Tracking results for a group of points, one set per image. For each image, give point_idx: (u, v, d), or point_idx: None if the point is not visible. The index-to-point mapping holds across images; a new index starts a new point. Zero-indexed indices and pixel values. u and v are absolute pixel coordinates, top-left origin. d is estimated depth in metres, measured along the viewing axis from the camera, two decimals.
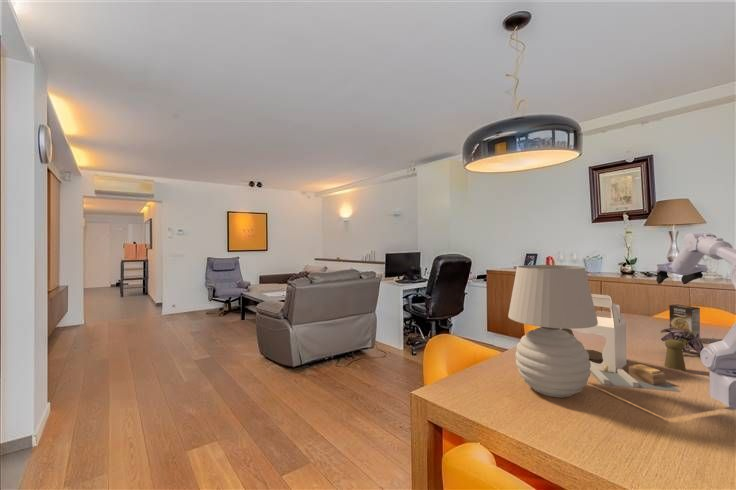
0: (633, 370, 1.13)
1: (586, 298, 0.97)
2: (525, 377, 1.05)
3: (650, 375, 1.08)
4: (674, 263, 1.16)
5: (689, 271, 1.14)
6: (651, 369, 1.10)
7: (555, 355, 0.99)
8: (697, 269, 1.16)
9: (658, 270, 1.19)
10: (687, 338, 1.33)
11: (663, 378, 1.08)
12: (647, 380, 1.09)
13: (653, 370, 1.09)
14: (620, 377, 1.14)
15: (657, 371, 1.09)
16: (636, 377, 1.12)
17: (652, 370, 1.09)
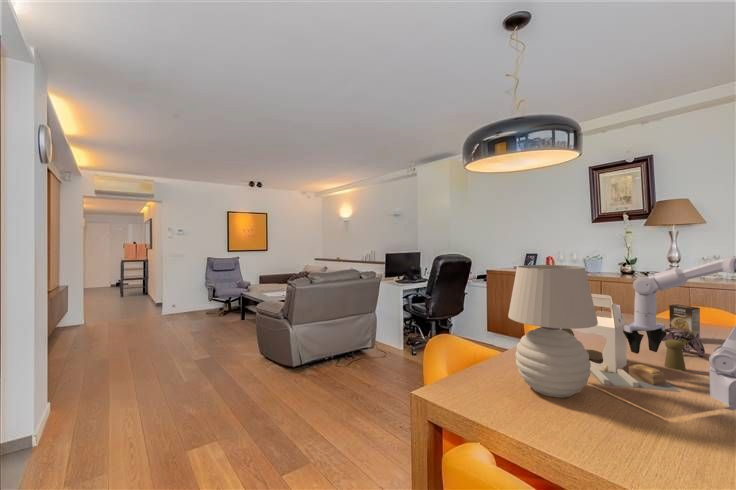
0: (633, 370, 1.13)
1: (586, 298, 0.97)
2: (525, 377, 1.05)
3: (650, 375, 1.08)
4: (638, 319, 1.12)
5: (655, 324, 1.10)
6: (651, 369, 1.10)
7: (555, 355, 0.99)
8: (657, 326, 1.12)
9: (631, 329, 1.10)
10: (687, 338, 1.33)
11: (663, 378, 1.08)
12: (647, 380, 1.09)
13: (653, 370, 1.09)
14: (620, 377, 1.14)
15: (657, 371, 1.09)
16: (636, 377, 1.12)
17: (652, 370, 1.09)
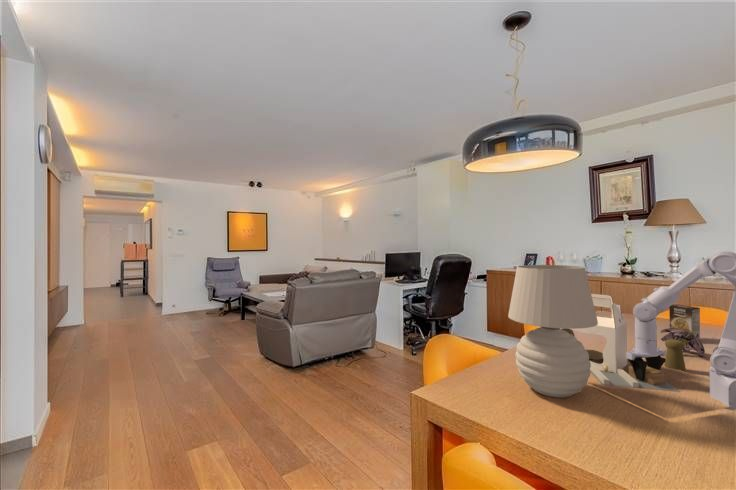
0: (633, 370, 1.13)
1: (586, 298, 0.97)
2: (525, 377, 1.05)
3: (650, 375, 1.08)
4: (639, 346, 1.11)
5: (656, 350, 1.09)
6: (651, 369, 1.10)
7: (555, 355, 0.99)
8: (658, 351, 1.12)
9: (632, 356, 1.09)
10: (687, 338, 1.33)
11: (663, 378, 1.08)
12: (647, 380, 1.09)
13: (653, 370, 1.09)
14: (620, 377, 1.14)
15: (657, 371, 1.09)
16: None
17: (652, 370, 1.09)
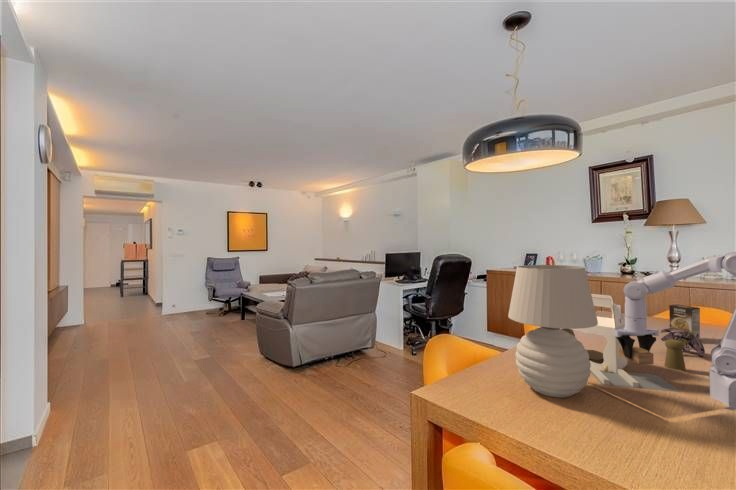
0: None
1: (586, 298, 0.97)
2: (525, 377, 1.05)
3: (636, 354, 1.09)
4: (627, 324, 1.12)
5: (645, 329, 1.09)
6: (639, 349, 1.10)
7: (555, 355, 0.99)
8: (649, 331, 1.11)
9: (618, 333, 1.10)
10: (687, 338, 1.33)
11: (650, 358, 1.08)
12: (634, 360, 1.10)
13: (641, 350, 1.10)
14: (620, 377, 1.14)
15: (645, 351, 1.09)
16: (625, 357, 1.13)
17: (640, 350, 1.10)
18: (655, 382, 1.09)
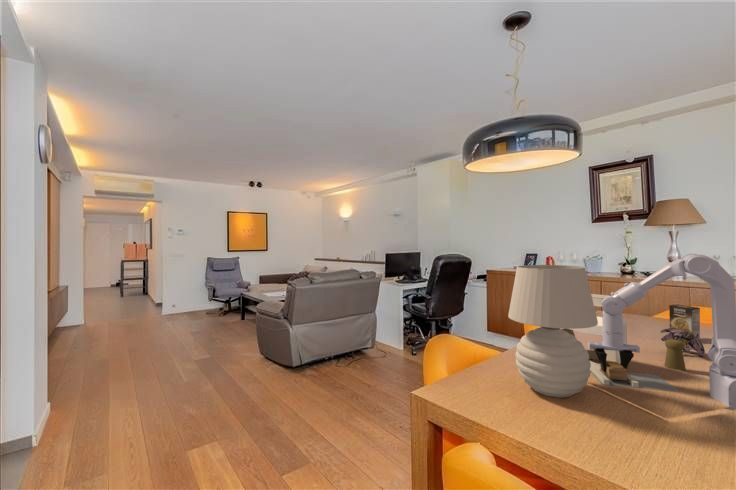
0: None
1: (586, 298, 0.97)
2: (525, 377, 1.05)
3: (608, 368, 1.11)
4: (603, 338, 1.14)
5: (619, 344, 1.10)
6: (615, 364, 1.11)
7: (555, 355, 0.99)
8: (629, 347, 1.11)
9: (590, 346, 1.14)
10: (687, 338, 1.33)
11: (623, 374, 1.09)
12: (607, 374, 1.12)
13: (615, 365, 1.11)
14: None
15: (619, 366, 1.10)
16: (603, 371, 1.15)
17: (614, 365, 1.11)
18: (655, 382, 1.09)
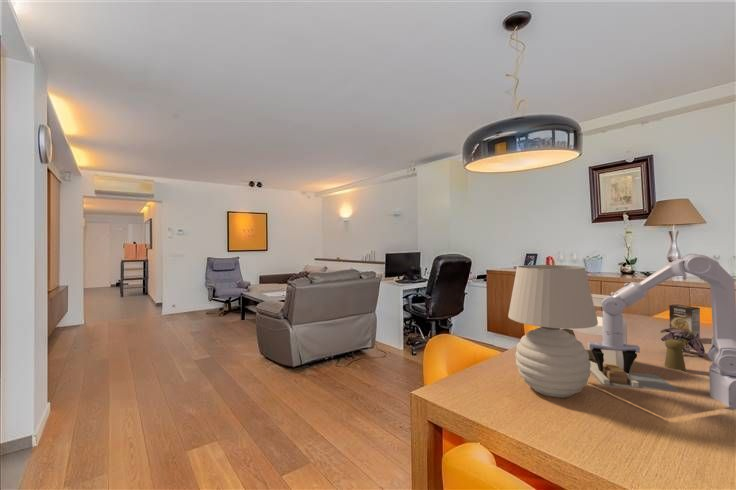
0: None
1: (586, 298, 0.97)
2: (525, 377, 1.05)
3: (608, 372, 1.11)
4: (603, 338, 1.14)
5: (619, 344, 1.10)
6: (615, 368, 1.11)
7: (555, 355, 0.99)
8: (629, 347, 1.11)
9: (590, 346, 1.14)
10: (687, 338, 1.33)
11: (624, 377, 1.09)
12: None
13: (615, 369, 1.11)
14: None
15: (619, 370, 1.10)
16: None
17: (614, 368, 1.11)
18: (655, 382, 1.09)
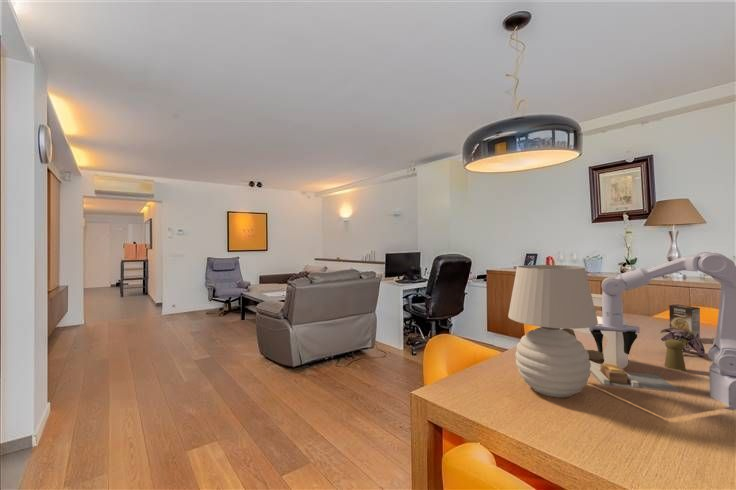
0: (602, 367, 1.16)
1: (586, 298, 0.97)
2: (525, 377, 1.05)
3: (608, 372, 1.11)
4: (603, 319, 1.14)
5: (619, 324, 1.10)
6: (615, 368, 1.11)
7: (555, 355, 0.99)
8: None
9: (590, 327, 1.14)
10: (687, 338, 1.33)
11: (624, 377, 1.09)
12: None
13: (615, 369, 1.11)
14: None
15: (619, 370, 1.10)
16: None
17: (614, 368, 1.11)
18: (655, 382, 1.09)
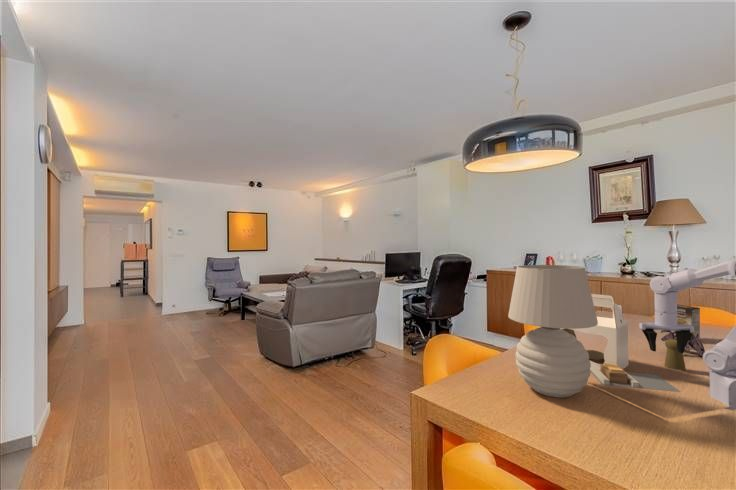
0: (602, 367, 1.16)
1: (586, 298, 0.97)
2: (525, 377, 1.05)
3: (608, 372, 1.11)
4: (655, 318, 1.14)
5: (673, 323, 1.10)
6: (615, 368, 1.11)
7: (555, 355, 0.99)
8: None
9: (643, 326, 1.14)
10: None
11: (624, 377, 1.09)
12: None
13: (615, 369, 1.11)
14: None
15: (619, 370, 1.10)
16: None
17: (614, 368, 1.11)
18: (655, 382, 1.09)
